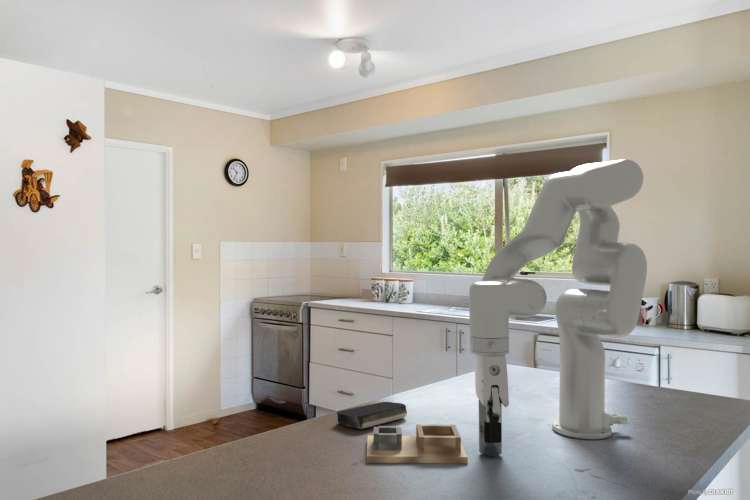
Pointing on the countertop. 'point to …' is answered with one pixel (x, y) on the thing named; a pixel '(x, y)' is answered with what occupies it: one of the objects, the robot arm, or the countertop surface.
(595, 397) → the robot arm
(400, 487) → the countertop surface
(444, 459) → the holder
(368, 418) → the black sponge
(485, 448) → the bottle
